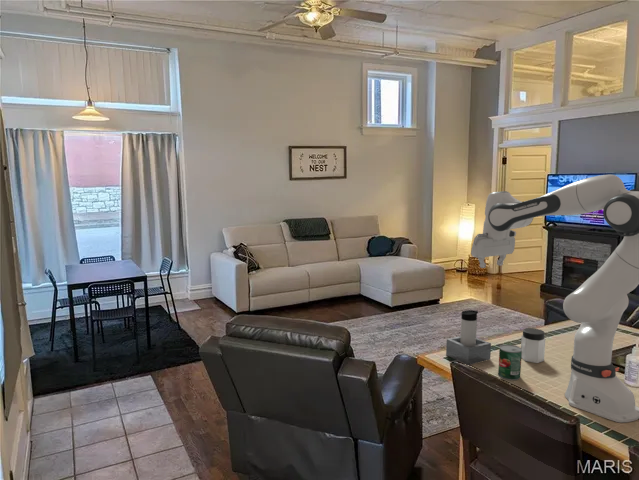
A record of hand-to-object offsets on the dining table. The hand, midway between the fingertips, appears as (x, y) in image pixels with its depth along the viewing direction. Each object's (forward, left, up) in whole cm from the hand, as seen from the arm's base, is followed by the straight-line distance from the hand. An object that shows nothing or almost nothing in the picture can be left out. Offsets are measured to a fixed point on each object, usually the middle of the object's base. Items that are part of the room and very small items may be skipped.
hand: (491, 266), depth 186 cm
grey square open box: (+7, +3, -40) cm, 40 cm away
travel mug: (+7, +3, -40) cm, 41 cm away
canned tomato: (-14, +3, -40) cm, 42 cm away
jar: (-7, -19, -40) cm, 45 cm away
